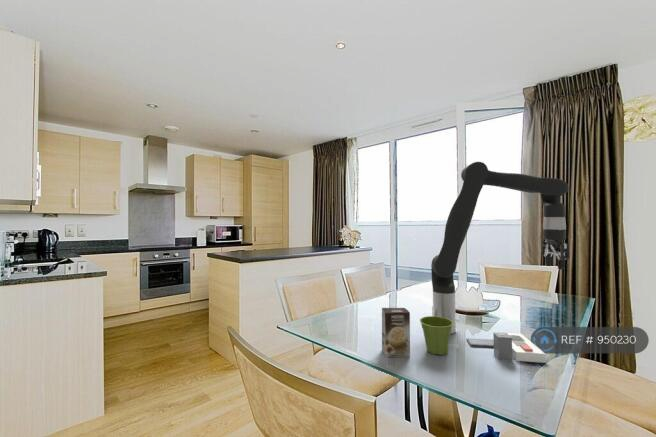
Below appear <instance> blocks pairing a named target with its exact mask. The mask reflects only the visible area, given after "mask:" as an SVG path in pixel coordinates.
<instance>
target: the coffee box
mask: <svg viewBox="0 0 656 437" xmlns="http://www.w3.org/2000/svg"><path fill="white" fill-rule="evenodd" d="M381 351H382V353H383V355H384V357H385V358H404V357H405V358H406V357H407V358H408V357H409V358H410V357H411V314H410V311H409V310H408V309H407V308H405V307H381Z"/></svg>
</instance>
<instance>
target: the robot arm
mask: <svg viewBox="0 0 656 437" xmlns="http://www.w3.org/2000/svg"><path fill="white" fill-rule="evenodd" d="M460 177H461V180H462V181H463V184H462V186H461V190H460V192H459V194H458V196H457V198H456V200H455V201H454V203H453V205H452V207H451V209H450V211H449V213H448V216H447V220H446V224H445V228H444V237H443V243H442V246H441V248H440V252H439V254H437V255H435V256H434V257H433V258H432V259H431V260H432V261H431V265H430V266H431V268H430V269H431V270H430V271H431V272H430V273H431V286H432V308H431V310H432V311H431V313H432V314H431V316H438V317H444V318H447V319H450V320H451V321H453V325H452V326H451V331H450V335H451V334H455V333H456V332H457V324H456V323H457V322H456V321H457V320H456V319H457V318H456V317H457V316H456V315H457V314H456V286H455V282H454V274H455V272H456V270H457V266H458V262H459V256H460V252H461V249H462V246H463V243H464V241H465V239H466V237H467V233H468V231H469V228H470V225H471V223H472V219H473V217H474V213H475V210H476V206H477V202H478V200H479V195H480V194H481V191H482V189H483V188H484V186H489V187H490V186H491V187H492V186H493V187H499V188H504V189H509V190H514V191H517V192H518V191H519V192H524V193H529V194H537V193H538V194H540V198H541V201H542V202H541V203H542V205H543V219H542V220H543V221H542V234H543V236H542V239H543V241H541V255H543V256H544V265H545V266H547V267H552V264H553V262H552V261H553V259H552V256H553V255H555V256H556V258H557V270H558V269H559V270H565V269H566V260H569V259H570V245H569V243H564V241H565V240H566V239H567V224H566V222H567V221H566V209H565V208H566V206H565V204H563V203H562V202H561V200H560V199H561V198H560V197H562V196H564V195H565V194H566V193H568V191H569V185H568V182H566V181H565V180H563V179H560V178H554V177H553V178H552V177H539V176H534V175H529V174H524V173H517V172H516V173H515V172H499V171H493V170H489V168H488V166H487V164H485V163H484V162H482V161H474V162H472V163H469V164H468V165H466V166H465V167H464V168H463V169H462V170H461V173H460Z"/></svg>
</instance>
